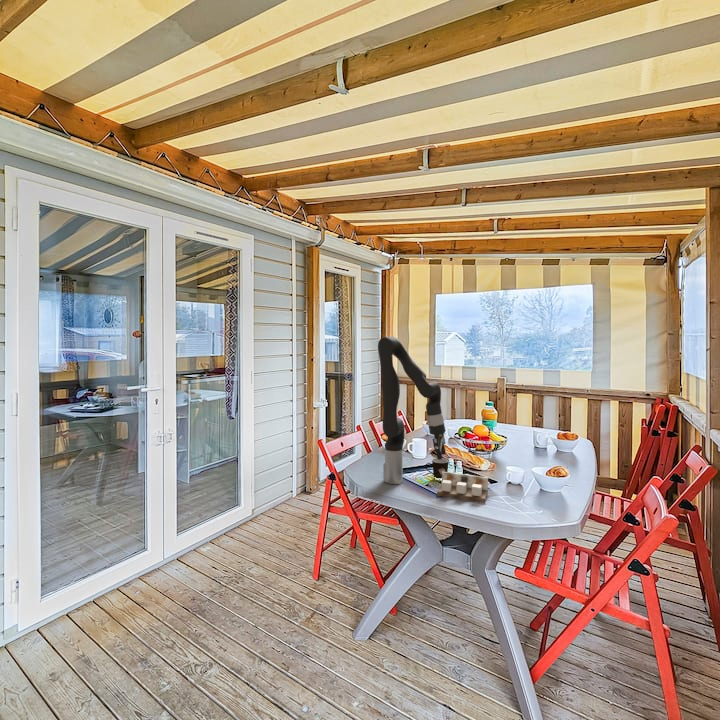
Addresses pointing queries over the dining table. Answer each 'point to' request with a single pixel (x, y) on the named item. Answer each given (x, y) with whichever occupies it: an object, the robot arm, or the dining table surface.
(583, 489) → the dining table surface
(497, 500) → the dining table surface
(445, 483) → the switch left
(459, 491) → the switch middle
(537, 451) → the dining table surface
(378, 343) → the robot arm
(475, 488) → the switch right
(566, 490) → the dining table surface
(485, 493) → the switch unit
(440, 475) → the coffee mug
